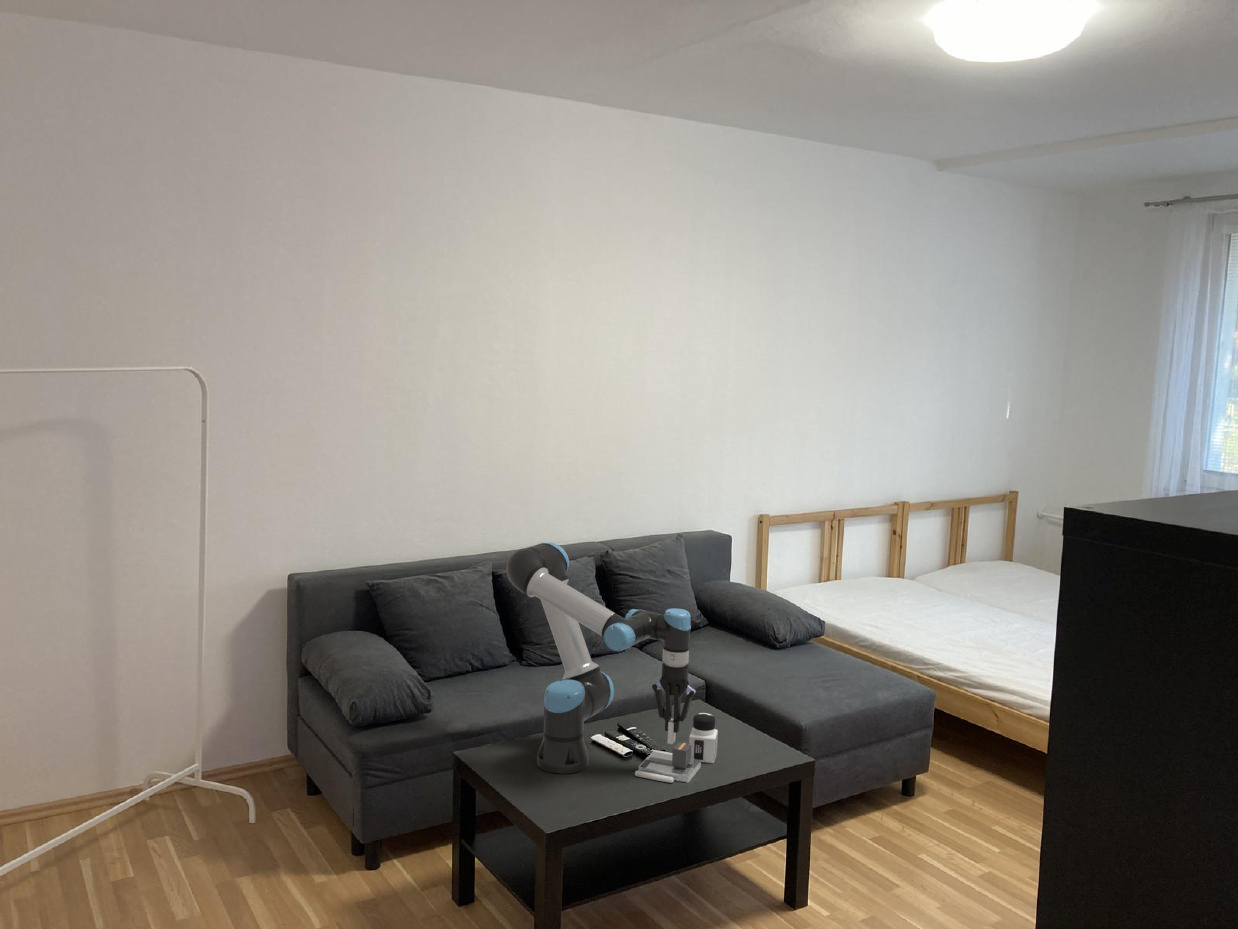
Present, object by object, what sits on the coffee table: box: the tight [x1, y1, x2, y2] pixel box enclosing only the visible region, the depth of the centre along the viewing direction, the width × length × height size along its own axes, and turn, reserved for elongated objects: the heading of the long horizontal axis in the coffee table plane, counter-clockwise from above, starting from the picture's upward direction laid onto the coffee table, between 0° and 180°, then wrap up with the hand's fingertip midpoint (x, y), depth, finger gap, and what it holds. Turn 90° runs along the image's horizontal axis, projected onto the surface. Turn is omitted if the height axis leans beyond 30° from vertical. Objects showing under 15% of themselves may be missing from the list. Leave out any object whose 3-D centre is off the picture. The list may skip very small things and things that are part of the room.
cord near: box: [634, 770, 675, 784], centre depth 282 cm, size 12×2×2 cm, turn 68°
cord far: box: [651, 749, 673, 755], centre depth 299 cm, size 12×2×2 cm, turn 68°
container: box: [688, 712, 719, 764], centre depth 298 cm, size 8×8×13 cm
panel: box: [638, 752, 702, 783], centre depth 289 cm, size 15×12×2 cm
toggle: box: [672, 742, 691, 768], centre depth 287 cm, size 4×5×5 cm
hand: (671, 742), depth 288 cm, fingers closed
